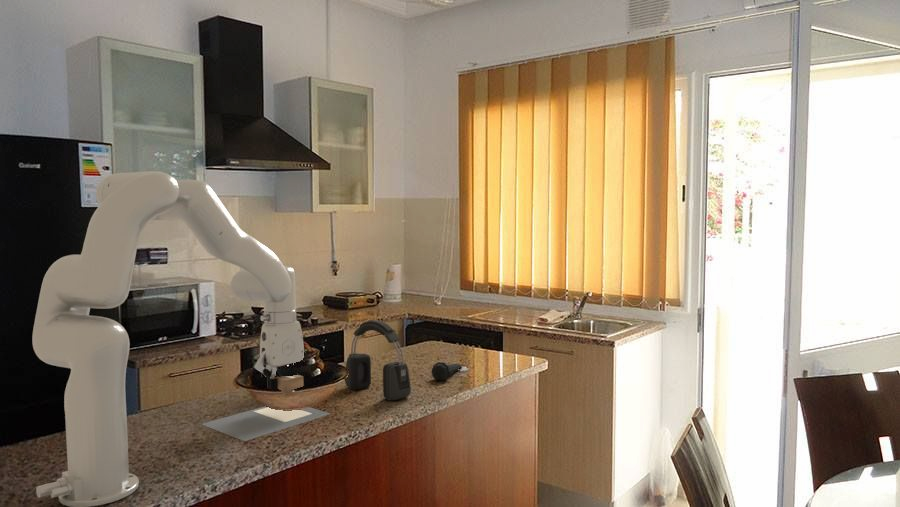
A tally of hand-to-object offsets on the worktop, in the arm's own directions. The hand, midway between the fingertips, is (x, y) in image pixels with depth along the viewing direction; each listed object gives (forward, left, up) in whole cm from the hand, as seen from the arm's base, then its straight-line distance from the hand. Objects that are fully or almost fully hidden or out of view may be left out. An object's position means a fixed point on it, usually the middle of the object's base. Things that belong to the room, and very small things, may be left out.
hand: (282, 390), depth 159 cm
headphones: (+28, -4, -7) cm, 29 cm away
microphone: (+56, -8, -7) cm, 57 cm away
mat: (-5, -1, -6) cm, 8 cm away
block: (0, 0, 0) cm, 0 cm away
